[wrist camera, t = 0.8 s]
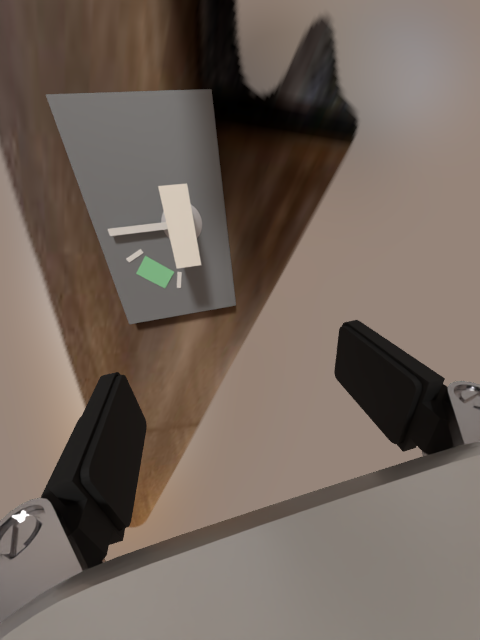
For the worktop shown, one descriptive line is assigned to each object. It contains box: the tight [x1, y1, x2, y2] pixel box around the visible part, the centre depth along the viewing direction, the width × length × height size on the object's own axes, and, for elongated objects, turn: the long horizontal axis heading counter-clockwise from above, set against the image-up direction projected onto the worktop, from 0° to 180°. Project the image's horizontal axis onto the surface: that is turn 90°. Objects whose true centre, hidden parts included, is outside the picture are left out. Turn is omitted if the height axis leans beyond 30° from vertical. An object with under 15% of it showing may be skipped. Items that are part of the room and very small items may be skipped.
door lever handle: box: [108, 183, 201, 269], centre depth 22 cm, size 6×9×7 cm
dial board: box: [46, 89, 236, 324], centre depth 26 cm, size 22×14×2 cm, turn 6°
